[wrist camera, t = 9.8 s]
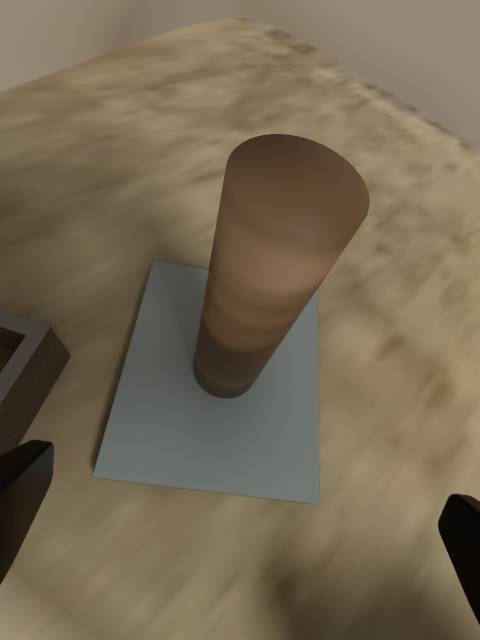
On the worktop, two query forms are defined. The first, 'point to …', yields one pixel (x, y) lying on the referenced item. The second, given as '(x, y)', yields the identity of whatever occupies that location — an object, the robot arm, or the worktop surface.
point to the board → (212, 406)
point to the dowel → (271, 252)
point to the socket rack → (26, 374)
